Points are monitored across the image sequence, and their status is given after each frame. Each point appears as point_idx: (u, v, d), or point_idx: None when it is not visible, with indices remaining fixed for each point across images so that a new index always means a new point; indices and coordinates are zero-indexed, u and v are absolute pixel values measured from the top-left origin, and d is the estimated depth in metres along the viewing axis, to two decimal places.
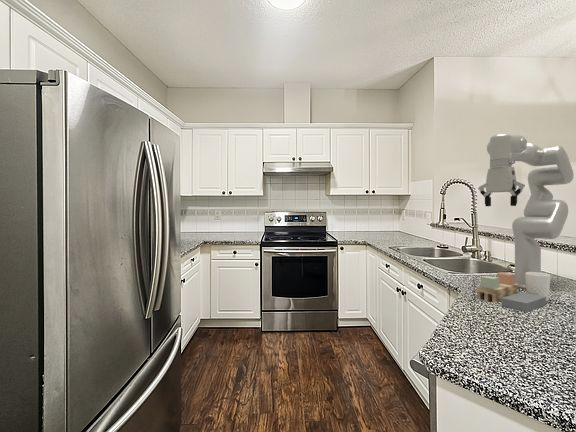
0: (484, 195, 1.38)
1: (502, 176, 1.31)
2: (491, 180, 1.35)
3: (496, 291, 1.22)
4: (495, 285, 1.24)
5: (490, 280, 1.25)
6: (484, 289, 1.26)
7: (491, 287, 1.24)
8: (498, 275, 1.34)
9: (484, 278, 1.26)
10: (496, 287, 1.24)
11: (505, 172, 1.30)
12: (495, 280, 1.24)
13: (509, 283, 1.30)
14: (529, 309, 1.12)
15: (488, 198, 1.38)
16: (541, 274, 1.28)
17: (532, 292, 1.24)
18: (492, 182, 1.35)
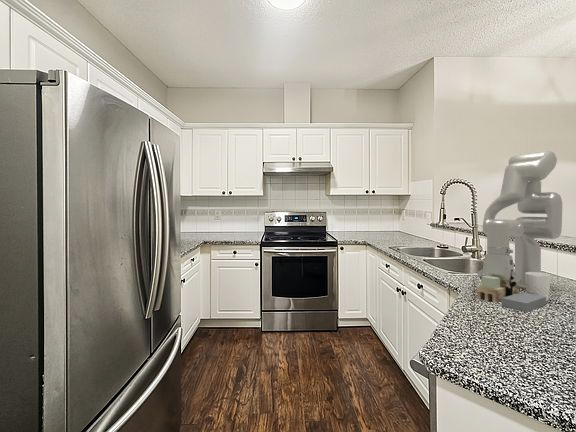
0: None
1: (500, 265, 1.27)
2: (488, 266, 1.30)
3: (496, 291, 1.22)
4: (495, 285, 1.24)
5: (491, 280, 1.25)
6: (484, 289, 1.26)
7: (492, 287, 1.25)
8: None
9: (485, 278, 1.27)
10: (496, 287, 1.25)
11: (503, 261, 1.26)
12: (496, 280, 1.24)
13: None
14: (529, 309, 1.12)
15: None
16: (541, 274, 1.28)
17: (532, 292, 1.24)
18: (489, 269, 1.30)
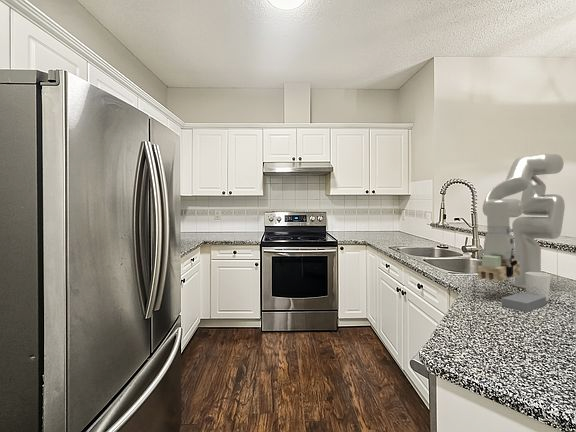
0: None
1: (500, 244, 1.27)
2: (489, 246, 1.31)
3: (497, 269, 1.23)
4: (496, 264, 1.24)
5: (492, 259, 1.25)
6: (485, 268, 1.26)
7: (493, 266, 1.25)
8: None
9: (486, 257, 1.27)
10: (497, 266, 1.25)
11: (503, 240, 1.26)
12: (497, 259, 1.24)
13: None
14: (529, 309, 1.12)
15: None
16: (541, 274, 1.28)
17: (532, 292, 1.24)
18: (490, 249, 1.30)
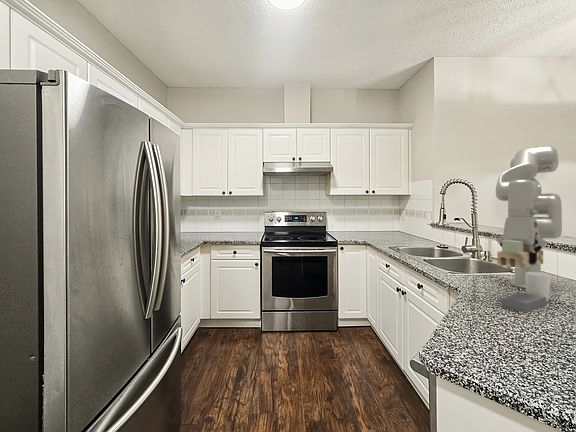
0: None
1: (523, 228, 1.15)
2: (510, 231, 1.19)
3: (519, 254, 1.11)
4: (518, 249, 1.13)
5: (513, 243, 1.13)
6: (506, 254, 1.14)
7: (514, 251, 1.13)
8: None
9: (506, 242, 1.15)
10: (519, 251, 1.13)
11: (527, 223, 1.14)
12: (519, 243, 1.13)
13: None
14: (529, 309, 1.12)
15: None
16: (541, 274, 1.28)
17: (532, 292, 1.24)
18: (511, 233, 1.19)
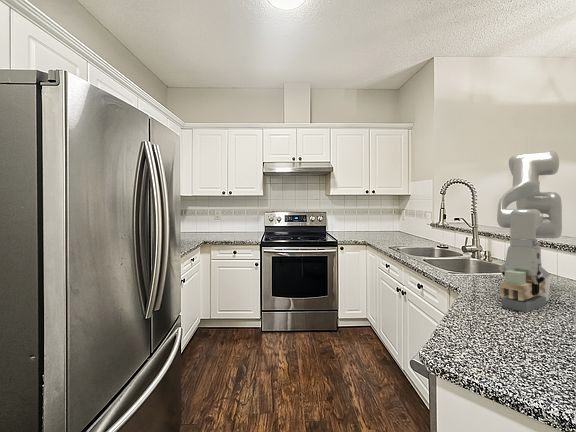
0: None
1: (525, 258, 1.15)
2: (512, 260, 1.18)
3: (522, 287, 1.10)
4: (521, 280, 1.12)
5: (516, 275, 1.13)
6: (508, 285, 1.14)
7: (517, 283, 1.12)
8: None
9: (509, 273, 1.15)
10: (522, 282, 1.12)
11: (529, 254, 1.14)
12: (521, 275, 1.12)
13: None
14: (529, 309, 1.12)
15: None
16: (541, 274, 1.28)
17: None
18: (513, 263, 1.18)
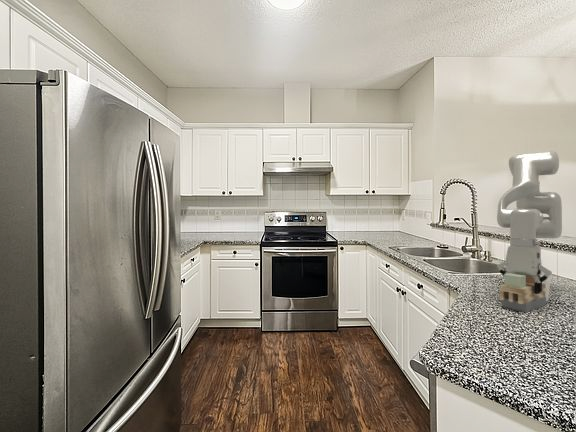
0: (504, 275, 1.22)
1: (525, 258, 1.14)
2: (512, 260, 1.18)
3: (522, 290, 1.10)
4: (521, 284, 1.12)
5: (516, 278, 1.13)
6: (508, 288, 1.14)
7: (517, 286, 1.12)
8: None
9: (509, 276, 1.15)
10: (522, 286, 1.12)
11: (529, 254, 1.14)
12: (521, 278, 1.12)
13: (534, 282, 1.18)
14: (529, 309, 1.12)
15: None
16: (541, 274, 1.28)
17: None
18: (513, 263, 1.18)
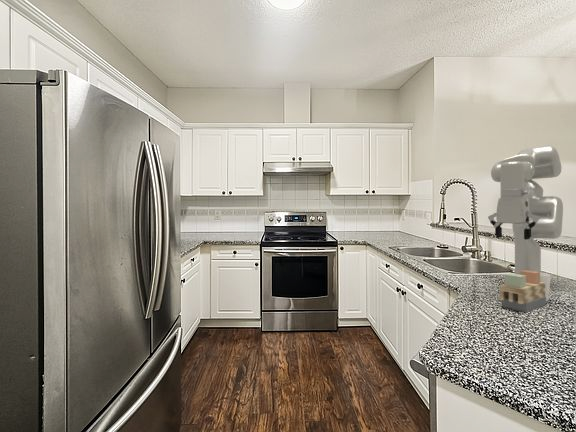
0: (494, 225, 1.29)
1: (515, 207, 1.22)
2: (502, 210, 1.26)
3: (522, 290, 1.10)
4: (521, 284, 1.12)
5: (516, 278, 1.13)
6: (508, 288, 1.14)
7: (517, 286, 1.12)
8: (521, 273, 1.21)
9: (509, 276, 1.15)
10: (522, 286, 1.12)
11: (518, 203, 1.21)
12: (521, 278, 1.12)
13: (534, 282, 1.18)
14: (529, 309, 1.12)
15: (499, 229, 1.29)
16: (541, 274, 1.28)
17: None
18: (503, 213, 1.25)
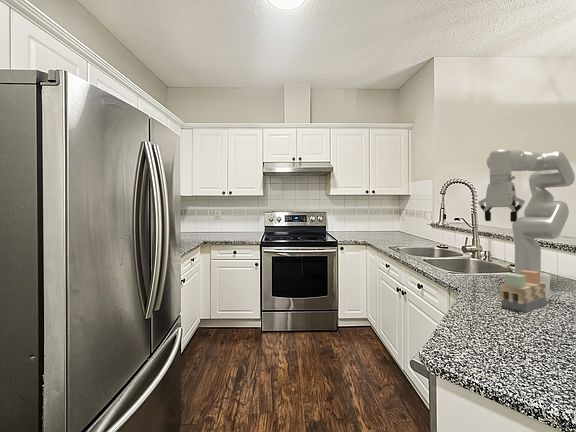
0: (484, 210, 1.38)
1: (502, 192, 1.31)
2: (491, 195, 1.35)
3: (522, 290, 1.10)
4: (521, 284, 1.12)
5: (516, 278, 1.13)
6: (508, 288, 1.14)
7: (517, 286, 1.12)
8: (521, 273, 1.21)
9: (509, 276, 1.15)
10: (522, 286, 1.12)
11: (505, 187, 1.30)
12: (521, 278, 1.12)
13: (534, 282, 1.18)
14: (529, 309, 1.12)
15: (488, 213, 1.38)
16: (541, 274, 1.28)
17: None
18: (492, 198, 1.35)
